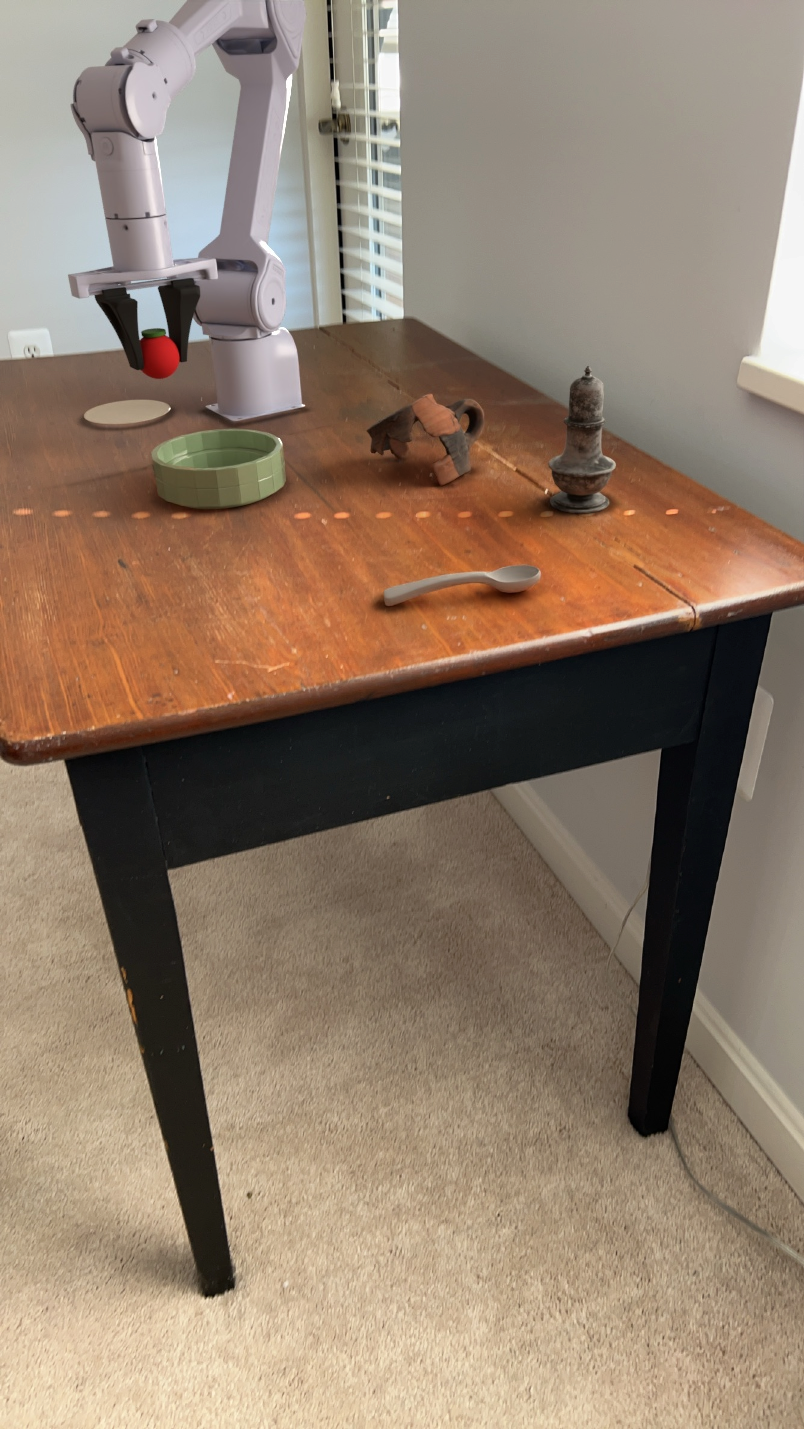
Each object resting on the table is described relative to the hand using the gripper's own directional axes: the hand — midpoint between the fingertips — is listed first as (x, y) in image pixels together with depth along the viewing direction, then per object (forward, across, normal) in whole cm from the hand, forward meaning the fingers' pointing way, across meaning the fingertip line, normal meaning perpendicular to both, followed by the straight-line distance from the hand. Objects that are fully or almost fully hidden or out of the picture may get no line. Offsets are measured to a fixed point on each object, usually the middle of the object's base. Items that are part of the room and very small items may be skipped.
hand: (159, 364), depth 103 cm
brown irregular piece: (+9, -18, +22) cm, 30 cm away
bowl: (+9, +1, +14) cm, 17 cm away
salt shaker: (+9, -22, +38) cm, 45 cm away
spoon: (+9, -2, +47) cm, 48 cm away
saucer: (+9, -2, -16) cm, 18 cm away
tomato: (+1, 0, 0) cm, 1 cm away
